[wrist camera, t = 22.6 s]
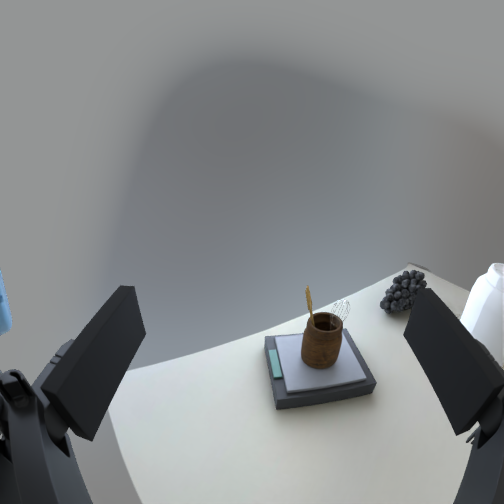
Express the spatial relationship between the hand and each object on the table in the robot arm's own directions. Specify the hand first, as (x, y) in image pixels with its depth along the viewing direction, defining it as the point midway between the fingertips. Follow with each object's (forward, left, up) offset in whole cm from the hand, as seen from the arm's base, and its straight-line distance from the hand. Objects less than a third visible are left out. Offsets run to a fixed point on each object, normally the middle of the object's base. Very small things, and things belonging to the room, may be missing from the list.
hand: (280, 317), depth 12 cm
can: (+40, +11, -26) cm, 49 cm away
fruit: (+36, +35, -26) cm, 56 cm away
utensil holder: (+10, +20, -23) cm, 32 cm away
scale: (+11, +20, -26) cm, 34 cm away
